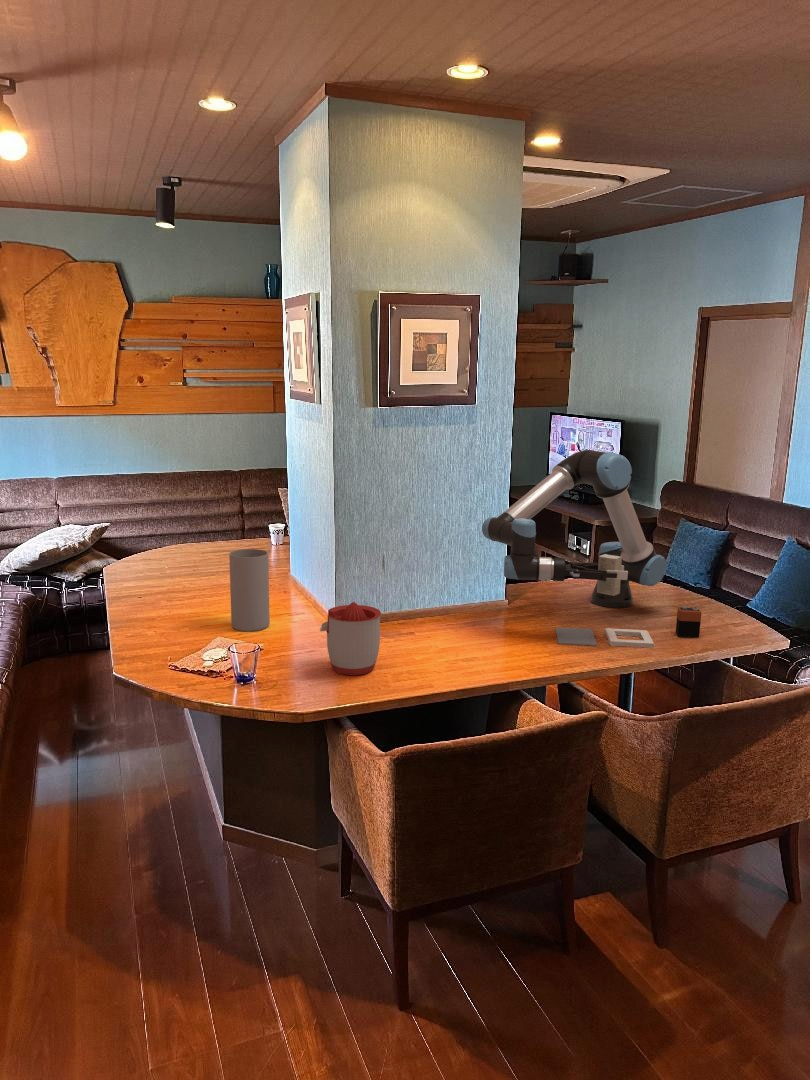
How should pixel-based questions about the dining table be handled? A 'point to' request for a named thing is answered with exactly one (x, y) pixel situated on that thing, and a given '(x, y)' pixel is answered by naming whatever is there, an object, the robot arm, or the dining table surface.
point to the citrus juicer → (353, 638)
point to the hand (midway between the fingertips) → (625, 572)
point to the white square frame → (644, 641)
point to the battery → (688, 622)
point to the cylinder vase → (249, 589)
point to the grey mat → (575, 636)
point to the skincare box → (611, 584)
